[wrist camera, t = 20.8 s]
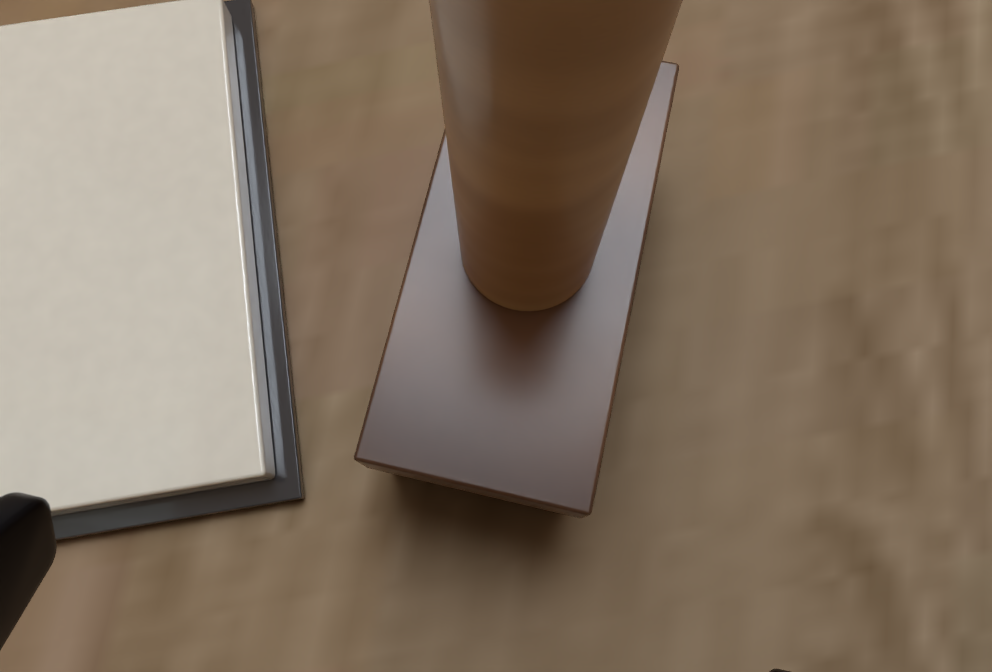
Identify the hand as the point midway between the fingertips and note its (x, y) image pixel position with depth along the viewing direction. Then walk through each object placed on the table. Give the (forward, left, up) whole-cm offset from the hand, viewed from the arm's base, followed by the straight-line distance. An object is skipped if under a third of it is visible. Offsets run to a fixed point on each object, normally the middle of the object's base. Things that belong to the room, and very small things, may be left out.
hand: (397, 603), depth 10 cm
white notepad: (-3, +13, -8) cm, 16 cm away
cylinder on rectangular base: (+6, +3, -8) cm, 10 cm away
